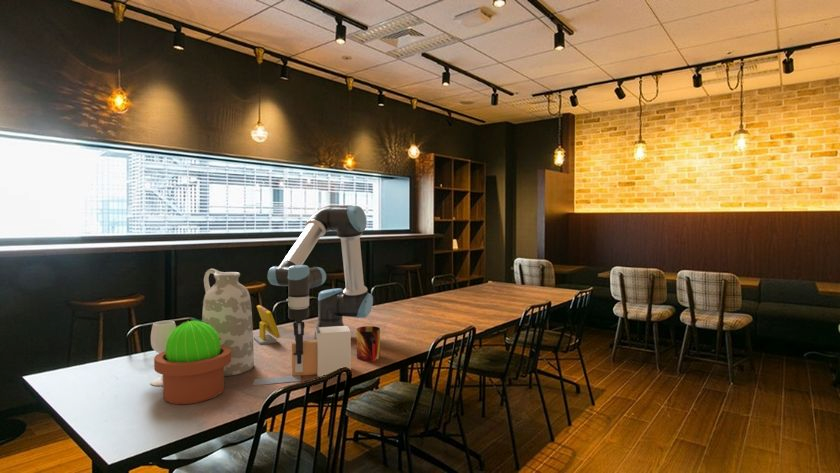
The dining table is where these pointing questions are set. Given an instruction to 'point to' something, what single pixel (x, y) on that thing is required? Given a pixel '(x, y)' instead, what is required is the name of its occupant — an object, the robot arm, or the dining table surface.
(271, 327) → the toy computer monitor
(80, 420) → the dining table surface
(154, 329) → the wineglass
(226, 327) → the vase
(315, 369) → the peach cardboard box
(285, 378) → the pad
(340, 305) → the robot arm
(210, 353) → the potted cactus
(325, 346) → the white tall block
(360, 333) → the mug
